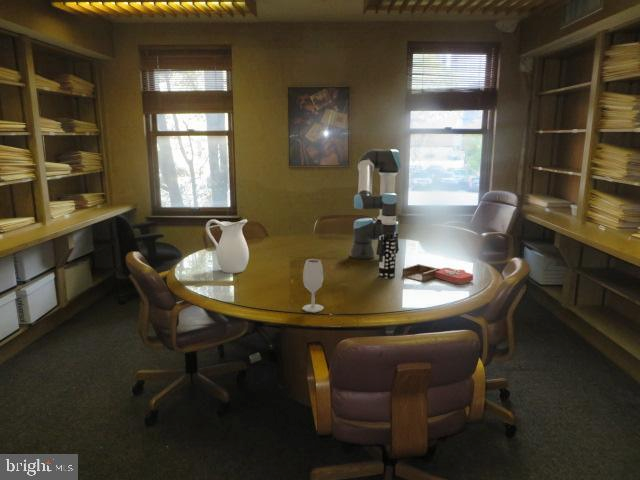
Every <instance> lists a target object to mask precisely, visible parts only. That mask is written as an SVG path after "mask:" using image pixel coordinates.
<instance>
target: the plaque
mask: <svg viewBox="0 0 640 480" xmlns="http://www.w3.org/2000/svg"><path fill="white" fill-rule="evenodd" d="M439 269H440V270H438V271H435V277H436V278H435V279H440V280H444V281H447V282H451V283H453V284H456V285H457V284H458V285H461V284H465V283H469V282H472V281H474V274H472V273H469V272H466V270H464V269H455V268H451V267H443V268H442V267H441V268H439Z"/></svg>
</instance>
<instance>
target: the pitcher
mask: <svg viewBox="0 0 640 480" xmlns="http://www.w3.org/2000/svg"><path fill="white" fill-rule="evenodd" d="M247 223H248V219H246V218H244V219H241V220H240V221H237V222H231V221H219V220H217V219H210V220H208V221H207V222H206V224H205V231H206V233H207V234H206V235H207V236H208V237H209V238H210V240H211V241H212V242H213V244H214V246H215V248H216V249H215V251H214V253H215V254H216V260H217V264H218V266H219V268H220V269H221V271H222V272H223V273H226V274H238V273H242V272H244V271H245V269H246V268H247V266H248V263H249V260H250V252H249V251H250V250H249V247H248V244H247V241H246V238H245V236H244V234H243V227H244V226H245V225H246V224H247ZM211 224H215V225H217V226H218V227H219V228H220V231H222V233H221V236H220V239H219V242H217V241H216V239H215V238H214V236H213V235H212V233H211V230H210V225H211Z"/></svg>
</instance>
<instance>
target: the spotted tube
mask: <svg viewBox="0 0 640 480" xmlns="http://www.w3.org/2000/svg"><path fill="white" fill-rule="evenodd" d="M383 246H385V252H384V255H383V256H385V259H384V268H379V267H378V277H379V278H382V279H392V278H393V279H394V278H395V277H396V276H395V275H396V257H397V255H396V254H397V253H396V238H394V239H389V240H384V239H383Z"/></svg>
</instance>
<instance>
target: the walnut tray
mask: <svg viewBox="0 0 640 480" xmlns="http://www.w3.org/2000/svg"><path fill="white" fill-rule="evenodd" d="M440 269H441V268H438V267H433V266H428V265H425V264H420V263H416V264H413V265H410V266H406V267H403V268H402V276H401V277H402V278H404V279H410V280H413V281H418V282H422V283H426V282H430V281H432V280H435V279H437V278H436V277H435V271H438V270H440Z"/></svg>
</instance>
